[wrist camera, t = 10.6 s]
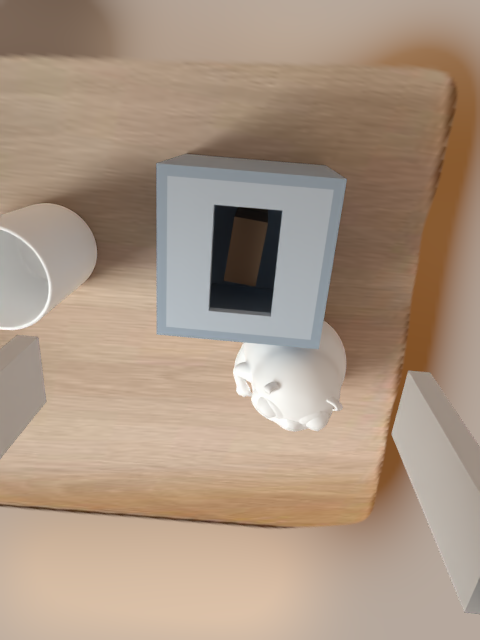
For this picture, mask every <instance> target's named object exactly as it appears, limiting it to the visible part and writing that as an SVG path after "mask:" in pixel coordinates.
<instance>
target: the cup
mask: <svg viewBox="0 0 480 640" xmlns="http://www.w3.org/2000/svg"><path fill="white" fill-rule="evenodd" d="M96 260H97V246H96V241H95V238H94V236H93V233H92V231H91V230H90V228H89V226H88V225H87V224H86V222H85V221H84V220H83V219H82V218H81V217H80V216H78V215H77V214H76V213H74V212H73V211H71V210H70V209H68V208H66V207H63V206H61V205H57V204H52V203H39V204H34V205H30V206H27V207H24V208H21V209H18V210H15V211H12V212H8V213H5V214H2V215H0V329H3V330H17V329H23V328H26V327H29V326H31V325H33V324H35V323H36V322H38V321H39V320H40V319H41V318H42V317H43V316H45V315H46V314H47V313H48V312H49V311H51V310H52V309H53V308H54V307H55V306H57V305H58V304H59V303H60V302H61V301H62V300H64V299H65V298H66V297H67V296H68V295H70V294H71V293H72V292H73V291H74V290H76V289H77V288H78V287H79V286H80V285H81V284H83V283H84V282H85V281H86V280H87V279H88V278H89V276H90V275H91V273H92V272H93V270H94V267H95V265H96Z"/></svg>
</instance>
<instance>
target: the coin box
mask: <svg viewBox="0 0 480 640" xmlns="http://www.w3.org/2000/svg"><path fill="white" fill-rule="evenodd" d="M346 181H347V179H346V178H344V177H343V176H341V175H340V174H338V173H337V172H335V171H333V170H332V169H330V168H329V167H327V166H326V165H315V164H303V163H291V162H279V161H266V160H254V159H242V158H230V157H218V156H206V155H194V154H184V155H181V156H178V157H175V158H171V159H168V160H165V161H162V162H159V163H156V210H157V334H158V335H169V336H180V337H191V338H202V339H213V340H223V341H234V342H245V343H256V344H267V345H278V346H288V347H299V348H310V349H319V345H320V339H321V333H322V327H323V321H324V315H325V309H326V303H327V296H328V290H329V284H330V278H331V272H332V266H333V260H334V254H335V248H336V242H337V236H338V230H339V224H340V218H341V212H342V206H343V200H344V193H345V187H346ZM238 207H247V208H259V209H268V226H267V231H266V236H265V241H264V246H263V251H262V256H261V261H260V266H259V271H258V276H257V281H256V286H250V285H244V284H239V283H233V282H228V281H224V276H225V270H226V264H227V258H228V252H229V246H230V240H231V234H232V228H233V222H234V216H235V214H236V211H237V208H238Z"/></svg>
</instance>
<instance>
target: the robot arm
mask: <svg viewBox="0 0 480 640" xmlns="http://www.w3.org/2000/svg"><path fill="white" fill-rule="evenodd" d="M45 403H46V394H45V386H44V378H43V370H42V362H41V354H40V346H39V338H38V337H35V336H24V335H16V336H15V337H14V338H13V339H12V340H10V341H9V342H8V343H7V344H6V345H4V346H3V347H2V348H1V349H0V459H1V458H2V456H3V455H4V454H5V453H6V451H7V450H8V449H9V448H10V446H11V445H12V444H13V443H14V441H15V440H16V439H17V438H18V436H19V435H20V434H21V433H22V431H23V430H24V429H25V428H26V426H27V425H28V424H29V423H30V421H31V420H32V419H33V418H34V416H35V415H36V414H37V413H38V411H39V410H40V409H41V408H42V407H43V405H44V404H45ZM392 437H393V439H394V441H395V443H396V446H397V449H398V451H399V454H400V456H401V459H402V461H403V464H404V466H405V468H406V471H407V473H408V476H409V478H410V481H411V483H412V486H413V488H414V490H415V493H416V495H417V498H418V500H419V503H420V505H421V507H422V510H423V513H424V515H425V517H426V520H427V522H428V525H429V527H430V530H431V532H432V535H433V537H434V539H435V542H436V544H437V547H438V549H439V552H440V554H441V557H442V559H443V562H444V564H445V566H446V569H447V571H448V574H449V576H450V579H451V581H452V583H453V586H454V588H455V591H456V593H457V596H458V598H459V601H460V603H461V606H462V608H463V610H464V612H465V613H474V614H480V446H479V445H478V443H477V442H476V440H475V439H474V437H473V436H472V434H471V433H470V431H469V430H468V429H467V427H466V426H465V424H464V422H463V421H462V419H461V418H460V416H459V415H458V413H457V412H456V410H455V409H454V407H453V406H452V404H451V403H450V401H449V400H448V398H447V397H446V396H445V394H444V393H443V391H442V389H441V388H440V387H439V385H438V383H437V382H436V380H435V379H434V378H433V376H432V375H431V373H428V372H417V371H408V374H407V378H406V381H405V385H404V389H403V393H402V396H401V400H400V404H399V408H398V412H397V416H396V419H395V423H394V427H393V431H392Z"/></svg>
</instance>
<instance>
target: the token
mask: <svg viewBox="0 0 480 640" xmlns="http://www.w3.org/2000/svg"><path fill="white" fill-rule="evenodd" d="M267 226H268V209H259V208H247V207H238V208H237V211H236V214H235V216H234V222H233V228H232V234H231V240H230V246H229V252H228V258H227V264H226V270H225V276H224V281H228V282H233V283H239V284H244V285H250V286H256V281H257V276H258V271H259V266H260V261H261V256H262V251H263V246H264V241H265V236H266V231H267Z"/></svg>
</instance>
